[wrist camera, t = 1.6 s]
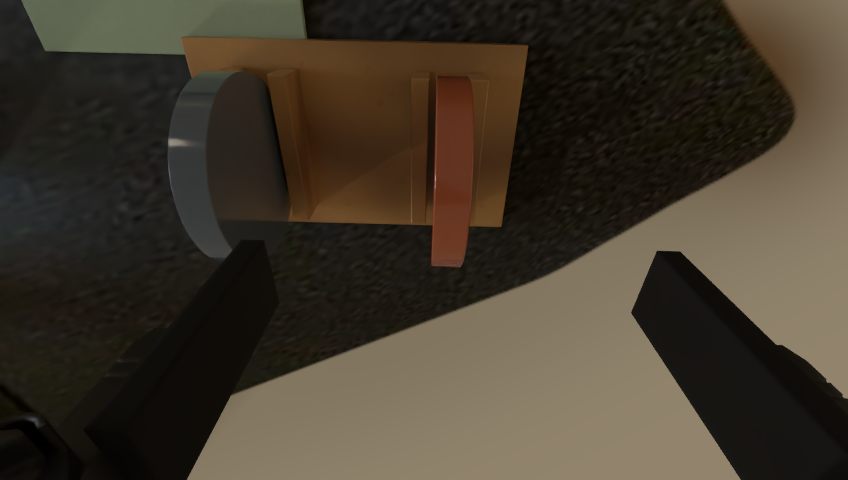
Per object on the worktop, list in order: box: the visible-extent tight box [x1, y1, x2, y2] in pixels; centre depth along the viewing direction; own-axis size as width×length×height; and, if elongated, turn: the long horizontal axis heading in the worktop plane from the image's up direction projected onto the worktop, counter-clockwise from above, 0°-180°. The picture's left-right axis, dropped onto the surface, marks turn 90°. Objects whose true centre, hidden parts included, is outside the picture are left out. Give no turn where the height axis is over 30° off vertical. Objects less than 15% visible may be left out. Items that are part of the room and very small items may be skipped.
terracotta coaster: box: [430, 74, 474, 268], centre depth 20 cm, size 10×2×10 cm, turn 179°
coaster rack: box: [180, 36, 528, 227], centre depth 24 cm, size 12×20×4 cm, turn 89°
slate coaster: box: [168, 70, 291, 262], centre depth 20 cm, size 10×2×10 cm, turn 179°
